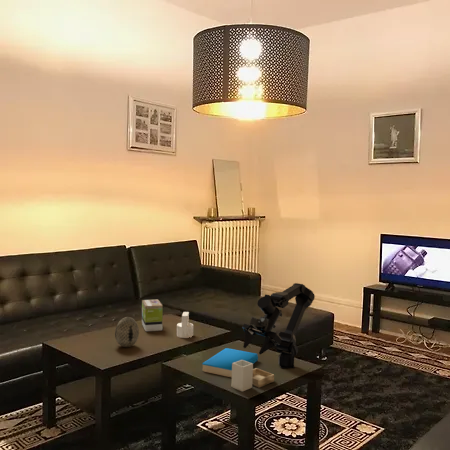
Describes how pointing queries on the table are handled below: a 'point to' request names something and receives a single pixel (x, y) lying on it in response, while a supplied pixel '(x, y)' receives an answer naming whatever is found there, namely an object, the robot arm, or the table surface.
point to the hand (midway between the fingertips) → (251, 350)
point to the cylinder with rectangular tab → (185, 327)
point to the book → (227, 361)
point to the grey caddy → (242, 375)
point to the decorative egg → (127, 332)
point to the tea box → (152, 315)
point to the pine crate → (261, 378)
